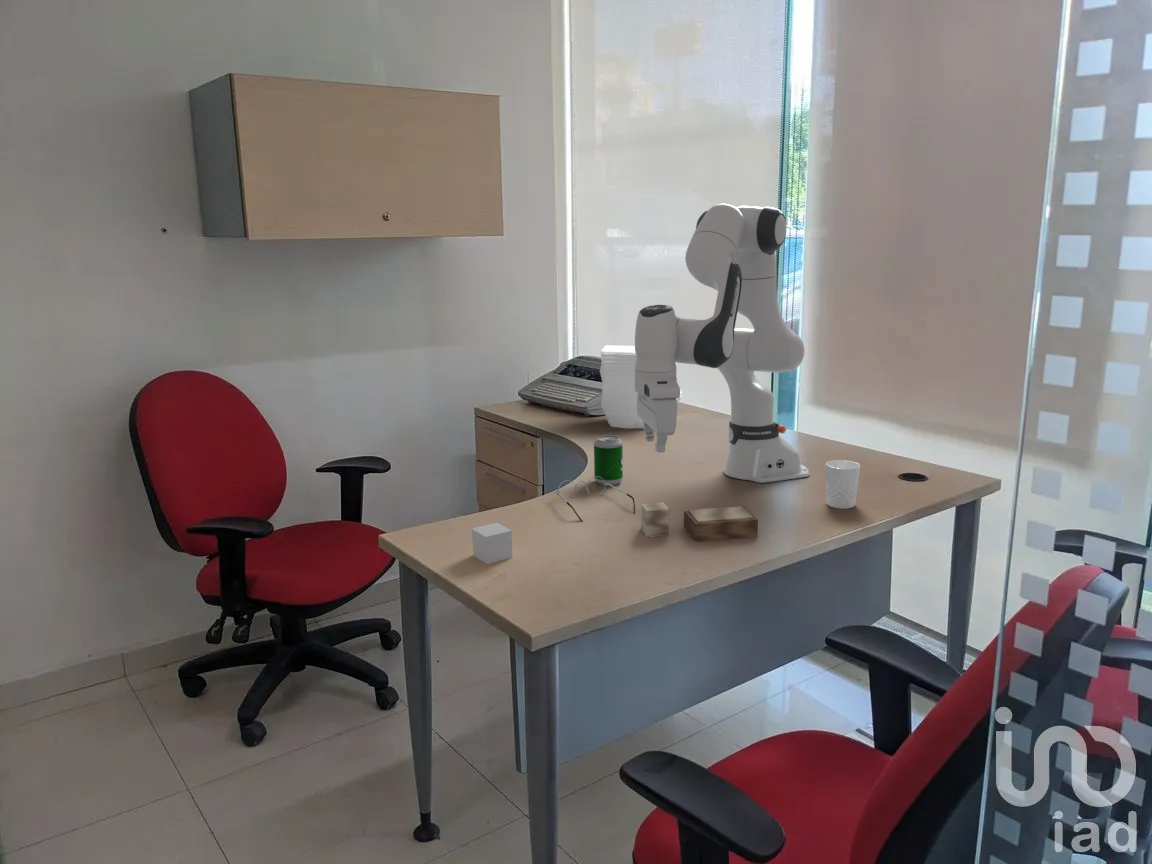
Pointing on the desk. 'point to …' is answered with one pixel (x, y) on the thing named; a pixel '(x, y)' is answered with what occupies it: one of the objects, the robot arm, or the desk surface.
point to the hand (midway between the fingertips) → (654, 446)
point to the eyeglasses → (589, 493)
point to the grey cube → (492, 543)
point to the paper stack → (620, 387)
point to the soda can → (608, 460)
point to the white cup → (841, 483)
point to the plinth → (720, 523)
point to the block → (655, 519)
